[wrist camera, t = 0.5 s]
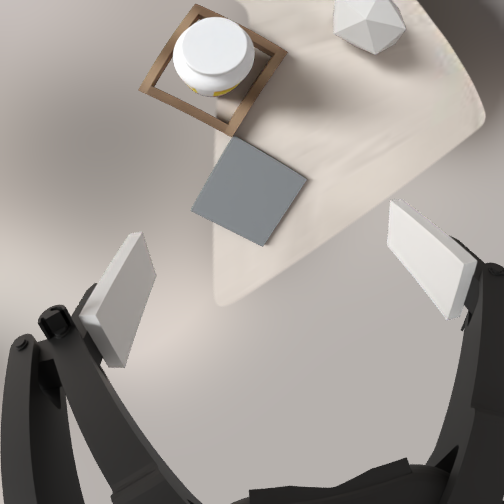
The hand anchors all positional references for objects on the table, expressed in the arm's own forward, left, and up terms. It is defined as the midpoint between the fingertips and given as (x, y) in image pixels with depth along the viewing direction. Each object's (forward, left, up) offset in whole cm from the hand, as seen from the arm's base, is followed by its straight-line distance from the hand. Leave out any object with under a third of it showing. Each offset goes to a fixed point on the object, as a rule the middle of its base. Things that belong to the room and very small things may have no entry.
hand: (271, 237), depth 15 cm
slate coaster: (+2, +3, -21) cm, 21 cm away
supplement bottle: (-8, -8, -21) cm, 24 cm away
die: (-23, +3, -21) cm, 32 cm away
